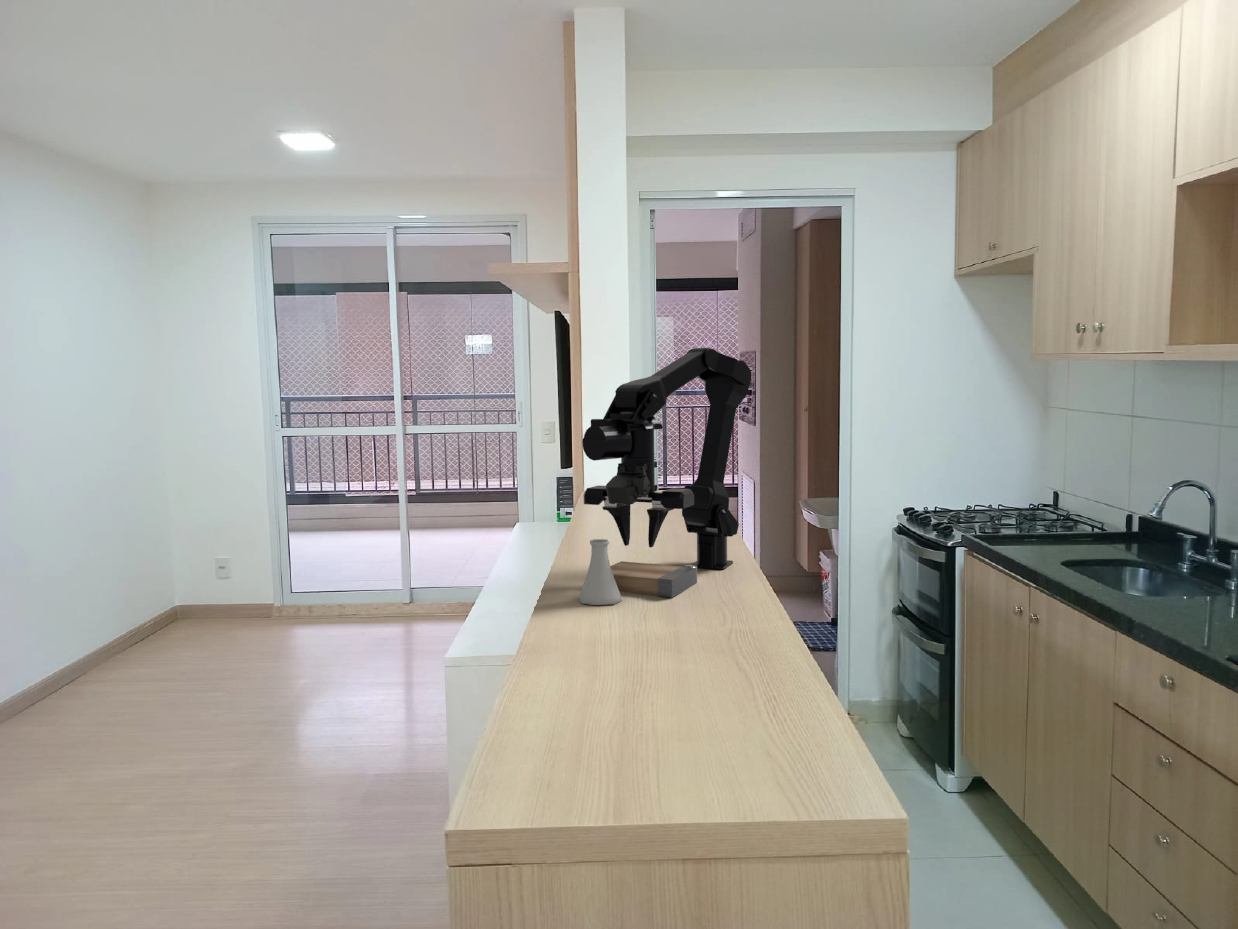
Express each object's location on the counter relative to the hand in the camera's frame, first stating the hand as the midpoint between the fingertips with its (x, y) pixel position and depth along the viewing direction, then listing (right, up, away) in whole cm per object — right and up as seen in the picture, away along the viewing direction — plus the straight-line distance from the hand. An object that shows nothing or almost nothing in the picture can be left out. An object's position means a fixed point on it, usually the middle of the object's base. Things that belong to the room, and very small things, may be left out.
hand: (638, 546), depth 149 cm
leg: (+7, -7, -3) cm, 10 cm away
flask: (-7, -8, -9) cm, 14 cm away
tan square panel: (0, -7, +1) cm, 7 cm away
